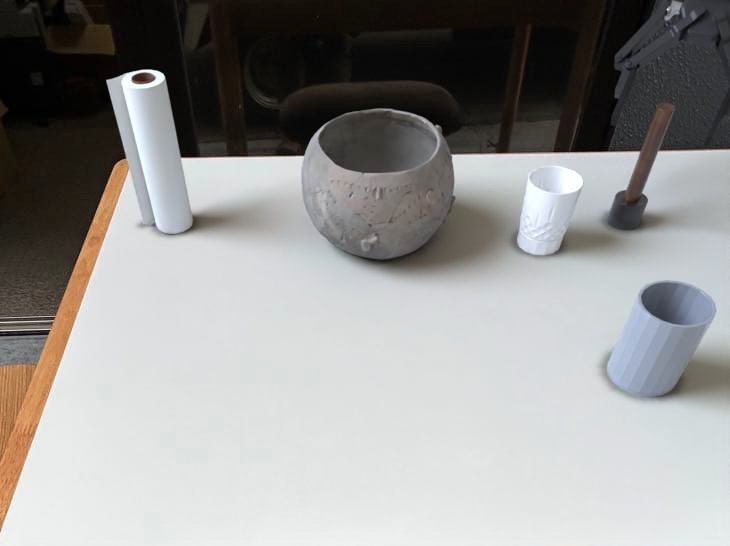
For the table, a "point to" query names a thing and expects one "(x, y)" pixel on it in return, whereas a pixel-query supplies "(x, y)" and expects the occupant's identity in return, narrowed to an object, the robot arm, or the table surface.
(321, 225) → the bowl
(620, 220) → the brush
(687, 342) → the tumbler
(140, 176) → the paper towel roll
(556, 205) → the white cup
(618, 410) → the table surface
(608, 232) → the table surface
